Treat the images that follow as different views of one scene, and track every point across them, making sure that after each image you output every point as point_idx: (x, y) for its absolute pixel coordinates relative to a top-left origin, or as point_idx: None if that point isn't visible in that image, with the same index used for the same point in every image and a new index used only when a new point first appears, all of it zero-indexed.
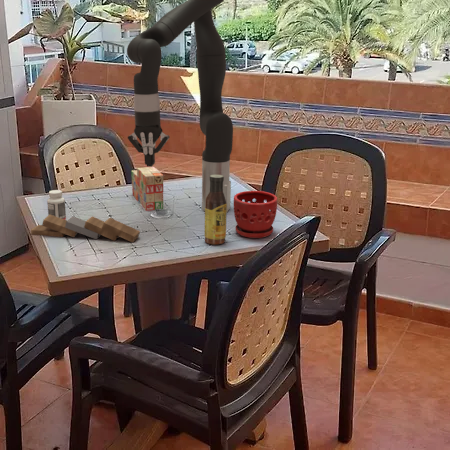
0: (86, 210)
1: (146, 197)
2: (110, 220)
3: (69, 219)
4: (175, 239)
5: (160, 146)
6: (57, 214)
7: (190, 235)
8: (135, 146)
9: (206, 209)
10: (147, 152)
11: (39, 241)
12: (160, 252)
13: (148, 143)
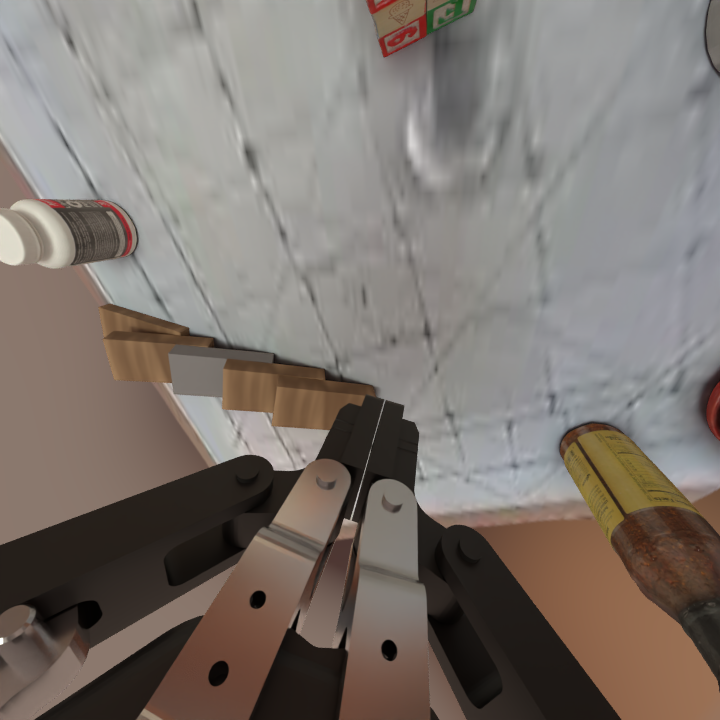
0: (139, 73)
1: (377, 24)
2: (283, 401)
3: (173, 378)
4: (476, 411)
5: (490, 695)
6: (102, 260)
7: (529, 386)
8: (172, 562)
9: (609, 542)
10: (334, 540)
11: (157, 387)
12: (429, 479)
13: (307, 588)
